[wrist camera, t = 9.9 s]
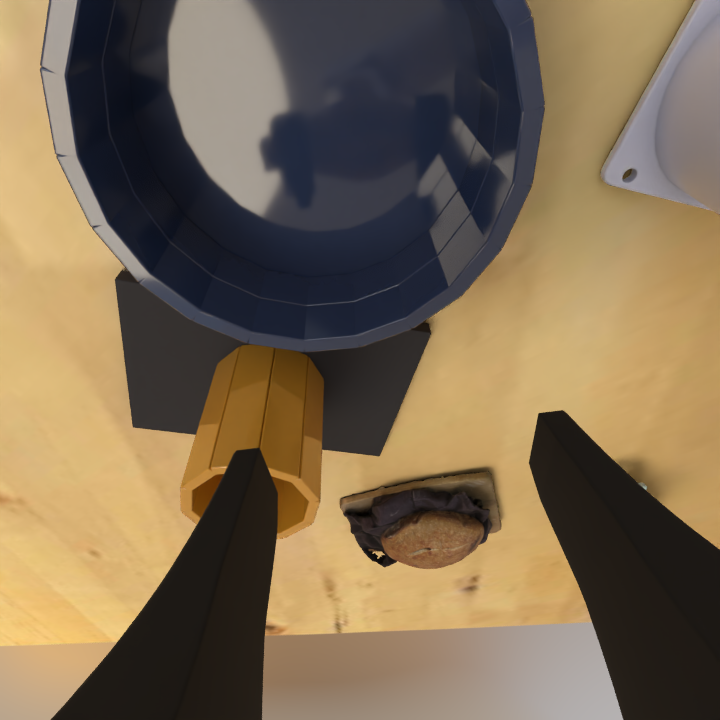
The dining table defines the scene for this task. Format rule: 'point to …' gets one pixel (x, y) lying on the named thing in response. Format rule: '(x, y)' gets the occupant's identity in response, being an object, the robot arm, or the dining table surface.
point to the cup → (261, 431)
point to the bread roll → (424, 520)
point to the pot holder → (208, 347)
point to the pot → (297, 153)
